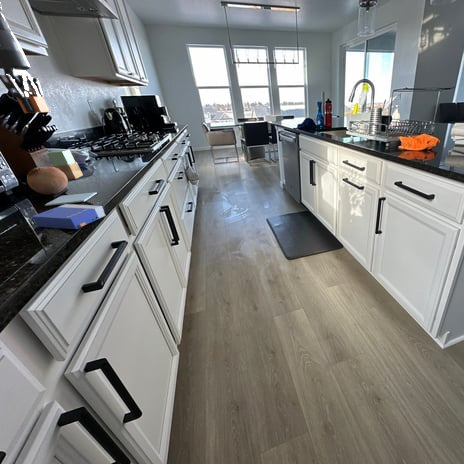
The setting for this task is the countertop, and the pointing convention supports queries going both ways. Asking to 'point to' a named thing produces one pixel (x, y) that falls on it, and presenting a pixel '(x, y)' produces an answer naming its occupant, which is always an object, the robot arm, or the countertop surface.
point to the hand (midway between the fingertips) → (37, 111)
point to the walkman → (69, 216)
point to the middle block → (61, 157)
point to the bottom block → (70, 170)
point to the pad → (71, 198)
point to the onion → (47, 180)
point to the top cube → (36, 104)
